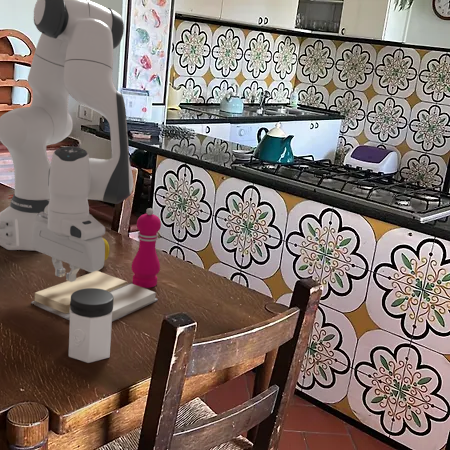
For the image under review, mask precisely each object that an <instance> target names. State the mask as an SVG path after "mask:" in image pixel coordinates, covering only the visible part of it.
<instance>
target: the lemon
mask: <svg viewBox="0 0 450 450" xmlns="http://www.w3.org/2000/svg"><path fill="white" fill-rule="evenodd" d="M102 238H103V240H104V243H105V260H104V262H106V261H107V259H109V256H110V244H109V242H108V240H106V238H104V237H102Z"/></svg>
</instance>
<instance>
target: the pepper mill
mask: <svg viewBox="0 0 450 450" xmlns="http://www.w3.org/2000/svg"><path fill="white" fill-rule="evenodd" d="M161 226H162V221H161V219H160V217H159V216H157V215H156V214H154V209H153V208H151V207H150V208H147V209H146V211H145V213H144V214H141V215H140V216H139V217H138V219H137V220H136V227H137V230H138V231H139V232H137V234H138V235H137V238H138V240H139V243H138V250H137V252H136V254H135V255H134V258H133V260H132V262H131V267H130V268H131V271H132V273H133V275H132V281H131V283H132V284H134V285H137V286H140V287H142V288H145V289H150V288H154V287H156V286H157V285H158V276H157V275H158V274H159V273H160V270H161V263H160V259H159V257H158V254H157V250H156V243H157V240H158V239H159V233H158V232H159V231H160V230H161V228H162V227H161Z"/></svg>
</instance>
